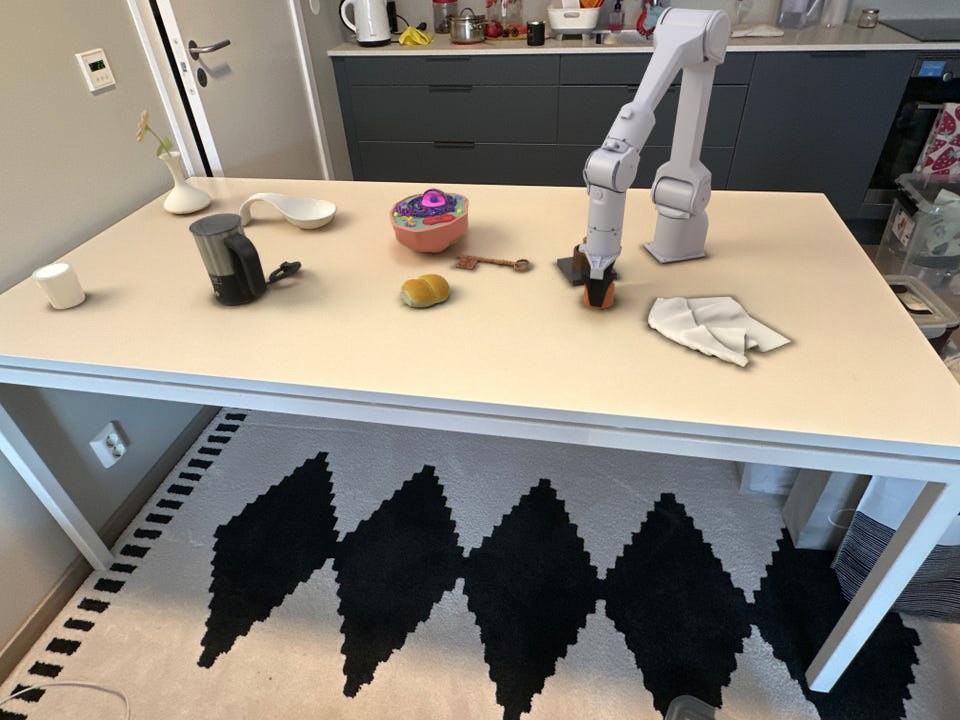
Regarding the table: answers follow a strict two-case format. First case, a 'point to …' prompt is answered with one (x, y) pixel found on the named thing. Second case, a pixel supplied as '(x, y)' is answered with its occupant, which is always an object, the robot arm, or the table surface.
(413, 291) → the bread roll
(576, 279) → the peg stand
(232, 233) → the milk frother
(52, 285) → the white short cylinder
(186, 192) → the flower in vase
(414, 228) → the cell model
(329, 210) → the spoon rest
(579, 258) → the walnut ring
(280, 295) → the table surface
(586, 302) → the terracotta ring
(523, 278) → the table surface
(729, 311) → the cloth
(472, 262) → the key
